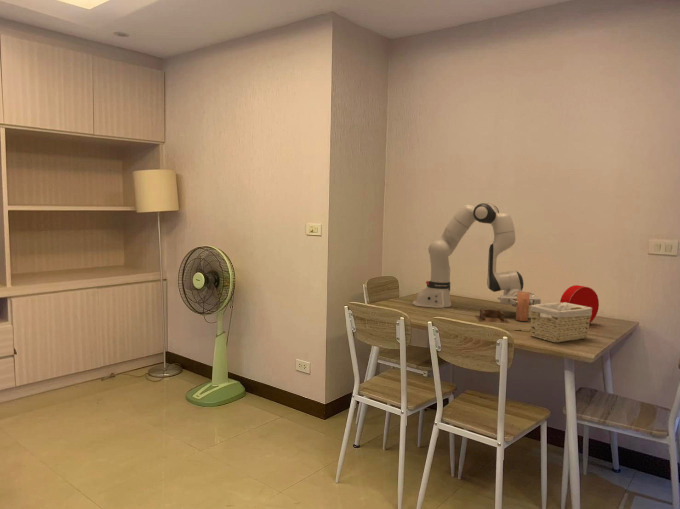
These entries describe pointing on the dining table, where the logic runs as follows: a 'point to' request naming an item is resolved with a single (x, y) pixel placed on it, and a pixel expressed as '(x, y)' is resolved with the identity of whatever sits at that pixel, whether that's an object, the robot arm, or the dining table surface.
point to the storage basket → (560, 321)
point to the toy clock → (582, 298)
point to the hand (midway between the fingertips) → (523, 303)
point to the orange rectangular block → (522, 306)
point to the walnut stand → (491, 316)
